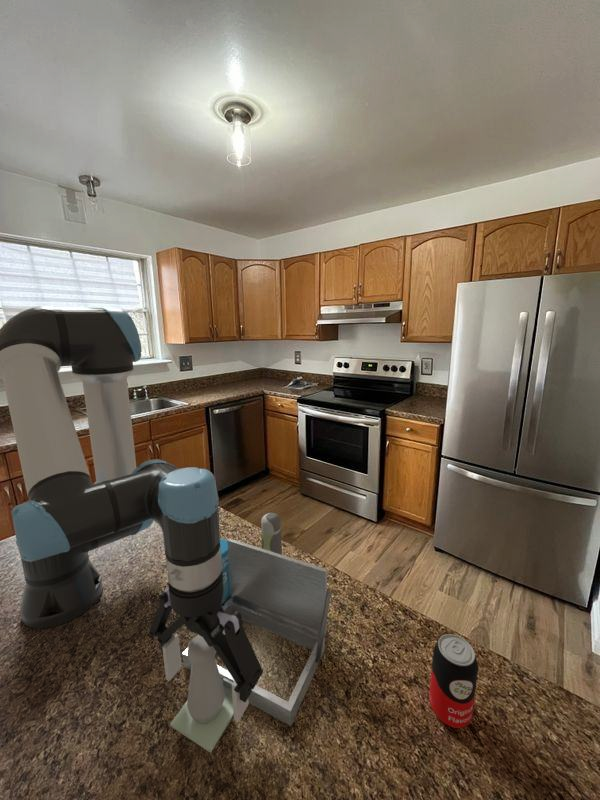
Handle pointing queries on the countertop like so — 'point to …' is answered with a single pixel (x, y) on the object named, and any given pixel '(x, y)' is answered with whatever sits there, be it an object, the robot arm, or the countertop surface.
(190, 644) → the salt shaker
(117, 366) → the robot arm
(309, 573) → the case
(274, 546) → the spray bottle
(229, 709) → the pad
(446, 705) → the beverage can
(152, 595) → the countertop surface
